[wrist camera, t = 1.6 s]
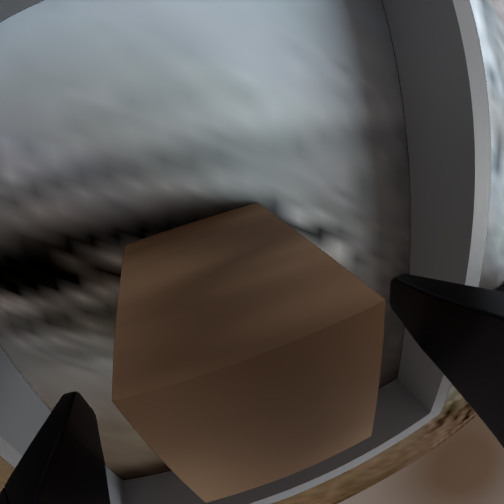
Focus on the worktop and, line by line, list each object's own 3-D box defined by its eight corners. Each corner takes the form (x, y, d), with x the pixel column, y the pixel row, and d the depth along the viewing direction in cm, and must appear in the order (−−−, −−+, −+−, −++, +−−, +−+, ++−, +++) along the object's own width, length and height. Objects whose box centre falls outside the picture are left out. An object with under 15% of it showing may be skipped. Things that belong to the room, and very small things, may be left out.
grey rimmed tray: (384, -51, 8) (441, -74, 5) (409, 380, 18) (440, 413, 15) (-109, 77, 4) (-162, 78, 1) (116, 490, 14) (121, 536, 11)
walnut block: (257, 202, 11) (385, 299, 5) (279, 310, 13) (370, 436, 7) (125, 244, 10) (112, 400, 4) (170, 349, 12) (205, 502, 6)
